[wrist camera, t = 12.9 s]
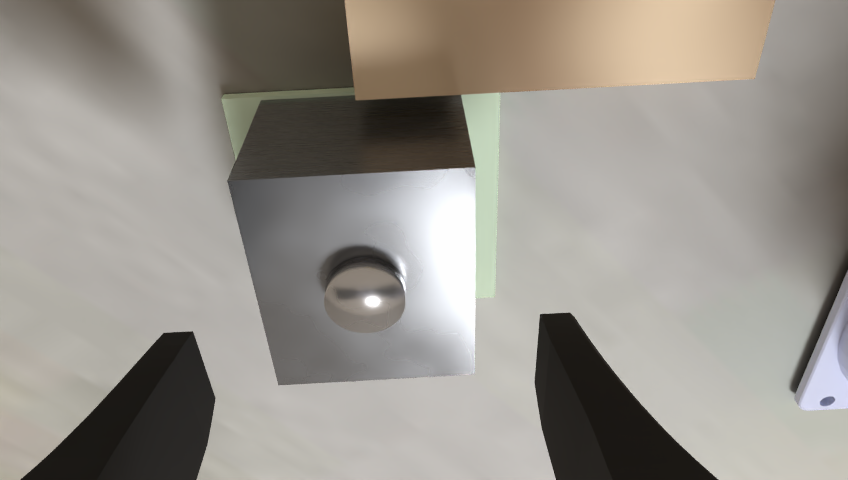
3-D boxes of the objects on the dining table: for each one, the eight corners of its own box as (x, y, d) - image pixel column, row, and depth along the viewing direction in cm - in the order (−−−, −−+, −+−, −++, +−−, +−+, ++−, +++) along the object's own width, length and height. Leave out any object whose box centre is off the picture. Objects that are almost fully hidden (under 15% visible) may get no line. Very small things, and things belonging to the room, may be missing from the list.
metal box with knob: (459, 89, 16) (478, 180, 13) (461, 275, 20) (476, 389, 16) (260, 99, 16) (222, 194, 13) (297, 285, 20) (275, 400, 16)
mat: (499, 79, 17) (500, 83, 16) (493, 290, 21) (495, 297, 20) (223, 94, 17) (221, 99, 16) (272, 303, 21) (270, 309, 20)
